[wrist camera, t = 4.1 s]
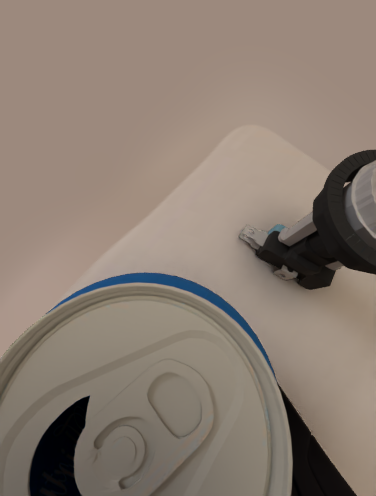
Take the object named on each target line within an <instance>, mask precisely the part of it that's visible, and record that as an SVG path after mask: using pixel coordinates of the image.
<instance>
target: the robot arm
mask: <svg viewBox="0 0 376 496" xmlns="http://www.w3.org/2000/svg"><path fill="white" fill-rule="evenodd" d="M277 384H278V383H277ZM278 387H279V389H280V392H281V395H282V399H283V402H284V406H285V409H286V413H287V418H288V423H289V429H290V435H291V445H292V460H293V468H292V490H291V496H357V495H356V494H355V493H354V491H353V490H352V489H351V488H350V486H349V485H348V484H347V482H346V481H345V480H344V478H343V477H342V476H341V474H340V473H339V472H338V470H337V469H336V468H335V466H334V465H333V463H332V462H331V461H330V459H329V458H328V456H327V455H326V454H325V452H324V451H323V449H322V448H321V446H320V445H319V443H318V442H317V440H316V439H315V437H314V436H313V435H311V432H310V430H309V429H308V427H307V426H306V424H305V423H304V421H303V420H302V418H301V417H300V415H299V414H298V412H297V411H296V410H295V408H294V407H293V405H292V404H291V402H290V401H289V399H288V398H287V396H286V395H285V393H284V392H283V390H282V389H281V387H280V386H279V384H278Z"/></svg>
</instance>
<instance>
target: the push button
mask: <svg viewBox="0 0 376 496" xmlns="http://www.w3.org/2000/svg"><path fill="white" fill-rule="evenodd" d="M345 182H350V183H349V184H348V185H346V186H345V187H344V184H345ZM343 187H344V188H343ZM249 230H253V232H254V233H253V234H252V233H251V232H249ZM244 235H246V236H248V237H249V239H246V238H245V237H244ZM239 238H241V239H242V240H244V241H246V242H248V243H250V244H251V247H253V248H255V249H257V252H256V255H257V256H258V257H260V258H262V259H263V260H265V261H267V262H269V263H271V264H272V265H274V266H276V267H278V268H280V269H281V270H280V269H279V270H277V271H274V272H273V273H274V274H275V275H277V276H279V277H280V278H282V279H284V280H289V279H292V278H294V277H295V278H298V279H299V282H298V284H299V285H300V286H302V287H304V288H306V289H309V290H312V289H317V288H322V287H327V286H330V285H331V282H332V279H333V277H334V274H335V271H336V270H338V269H341V267H342V266H345V267H347V268H349V269H353V270H358V271H362V272H367V273H371V274H376V150H366V151H362V152H358V153H355V154H353V155H351V156H349V157H347V158H346V159H344V161H342V162H341V163H340V164H338V165H337V166H336V167H335V168H334V169H333V170H332V172H331V173H330V174H329V176H328V178H327V180H326V182H325V185H324V188H323V190H322V191H321V192H320V193H319V195H318V196H317V197H316V198H315V200H314V202H313V211H312V212H311V213H310V214H308V215H307V216H306V217H304V218H303V219H302V220H300V221H299V222H298V223H296V224H295V225H294V226H292V227H291V228H287V227H285V226H283V225H280V224H277V225H275V226H274V227H273V228H272V229H271V230H270V231H269V232H268V233H267V232H265V231H263V230H261V231H259V230H257V229H255V228H253V227H252V226H250V225H246V227H245V229H243V230H242V232H241V234H240V236H239ZM280 274H283V275H285V276H286V277H285V276H282V275H280Z"/></svg>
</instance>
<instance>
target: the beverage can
mask: <svg viewBox="0 0 376 496" xmlns="http://www.w3.org/2000/svg"><path fill="white" fill-rule="evenodd" d="M292 468H293V460H292V445H291V435H290V429H289V423H288V418H287V413H286V409H285V406H284V402H283V399H282V395H281V392H280V389H279V387H278V384H277V381H276V377H275V374H274V371H273V368H272V366H271V363H270V361H269V359H268V356H267V354H266V352H265V350H264V348H263V346H262V345H261V343H260V341H259V339H258V337H257V336H256V334H255V333H254V332H253V330H252V329H251V328H250V326H249V325H248V323H247V322H246V321H245V320H244V319H243V317H242V316H241V315H240V314H239V313H238V312H237V311H236V310H235V309H234V308H233V307H232V306H231V305H230V304H228V303H227V302H226V301H225V300H224V299H222V298H221V297H220V296H218V295H217V294H215V293H213V292H212V291H210V290H209V289H207V288H205V287H203V286H201V285H199V284H197V283H195V282H192V281H190V280H186V279H183V278H180V277H177V276H172V275H166V274H161V273H134V274H125V275H120V276H116V277H111V278H108V279H105V280H102V281H99V282H96V283H94V284H91V285H89V286H87V287H85V288H83V289H81V290H79V291H77V292H75V293H74V294H72V295H71V296H69V297H68V298H66V299H64V300H63V301H61V302H60V303H59V304H58V305H56V306H55V307H54V308H53V309H51V310H50V311H49V312H48V313H46V314H45V315H44V316H43V317H42V318H40V319H39V320H38V321H37V322H36V323H34V324H33V325H32V326H30V327H29V328H28V329H27V330H26V331H25V332H24V333H23V334H22V335H21V336H20V337H19V338H18V339H17V340H16V341H15V342H14V343H13V344H12V345H11V346H10V347H9V349H8V350H7V351H6V352H5V353H4V355H3V356H2V357H1V358H0V496H291V490H292Z"/></svg>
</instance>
